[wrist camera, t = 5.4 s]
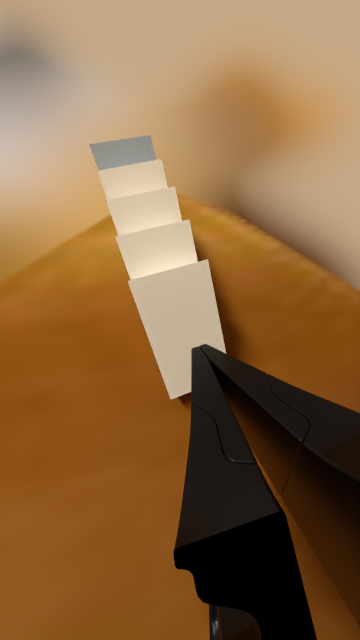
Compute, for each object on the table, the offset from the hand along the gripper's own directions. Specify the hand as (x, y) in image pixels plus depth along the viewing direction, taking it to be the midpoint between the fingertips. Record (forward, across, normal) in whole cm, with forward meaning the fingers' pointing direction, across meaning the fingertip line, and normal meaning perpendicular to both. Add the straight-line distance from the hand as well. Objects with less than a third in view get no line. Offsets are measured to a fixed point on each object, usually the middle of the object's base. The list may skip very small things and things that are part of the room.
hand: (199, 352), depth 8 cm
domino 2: (+6, 0, +3) cm, 7 cm away
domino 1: (+3, 0, +6) cm, 7 cm away
